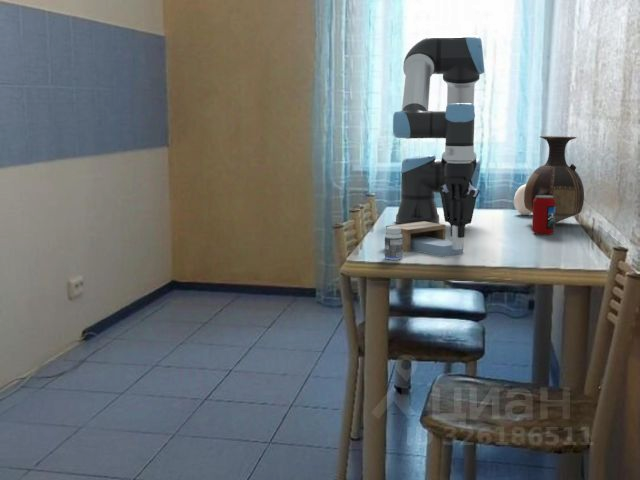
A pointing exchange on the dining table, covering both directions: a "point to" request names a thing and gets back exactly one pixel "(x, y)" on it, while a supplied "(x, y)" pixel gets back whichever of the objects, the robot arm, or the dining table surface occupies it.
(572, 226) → the dining table surface
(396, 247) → the pill bottle
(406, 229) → the shelf
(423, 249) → the panel
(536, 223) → the beverage can
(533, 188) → the vase
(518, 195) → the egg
